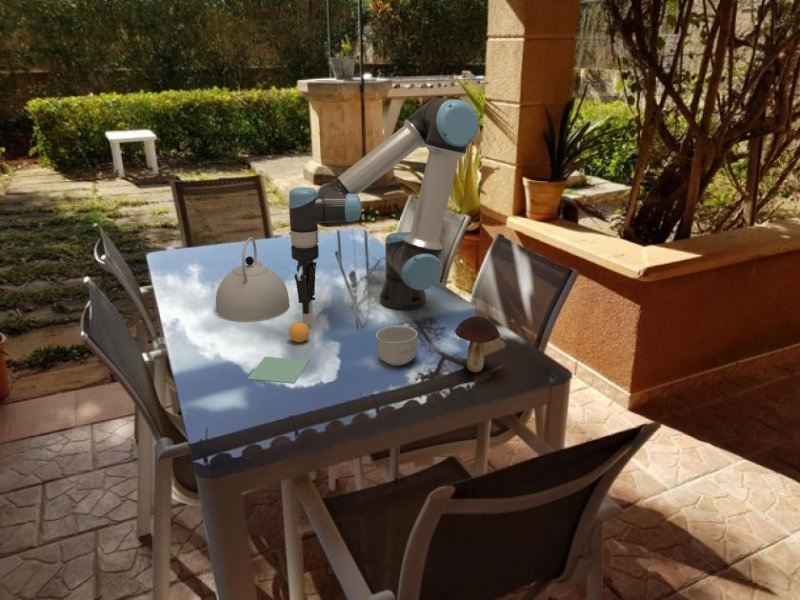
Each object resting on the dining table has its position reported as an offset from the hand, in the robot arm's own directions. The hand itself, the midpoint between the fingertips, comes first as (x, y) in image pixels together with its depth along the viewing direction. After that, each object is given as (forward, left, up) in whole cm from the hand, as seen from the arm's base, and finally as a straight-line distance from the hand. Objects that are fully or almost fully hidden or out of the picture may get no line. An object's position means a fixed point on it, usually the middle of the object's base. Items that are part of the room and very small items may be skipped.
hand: (307, 322), depth 173 cm
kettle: (+22, -13, -3) cm, 26 cm away
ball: (0, +9, +1) cm, 9 cm away
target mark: (0, +26, -2) cm, 26 cm away
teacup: (-29, +14, -2) cm, 32 cm away
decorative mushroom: (-49, +18, -2) cm, 52 cm away
